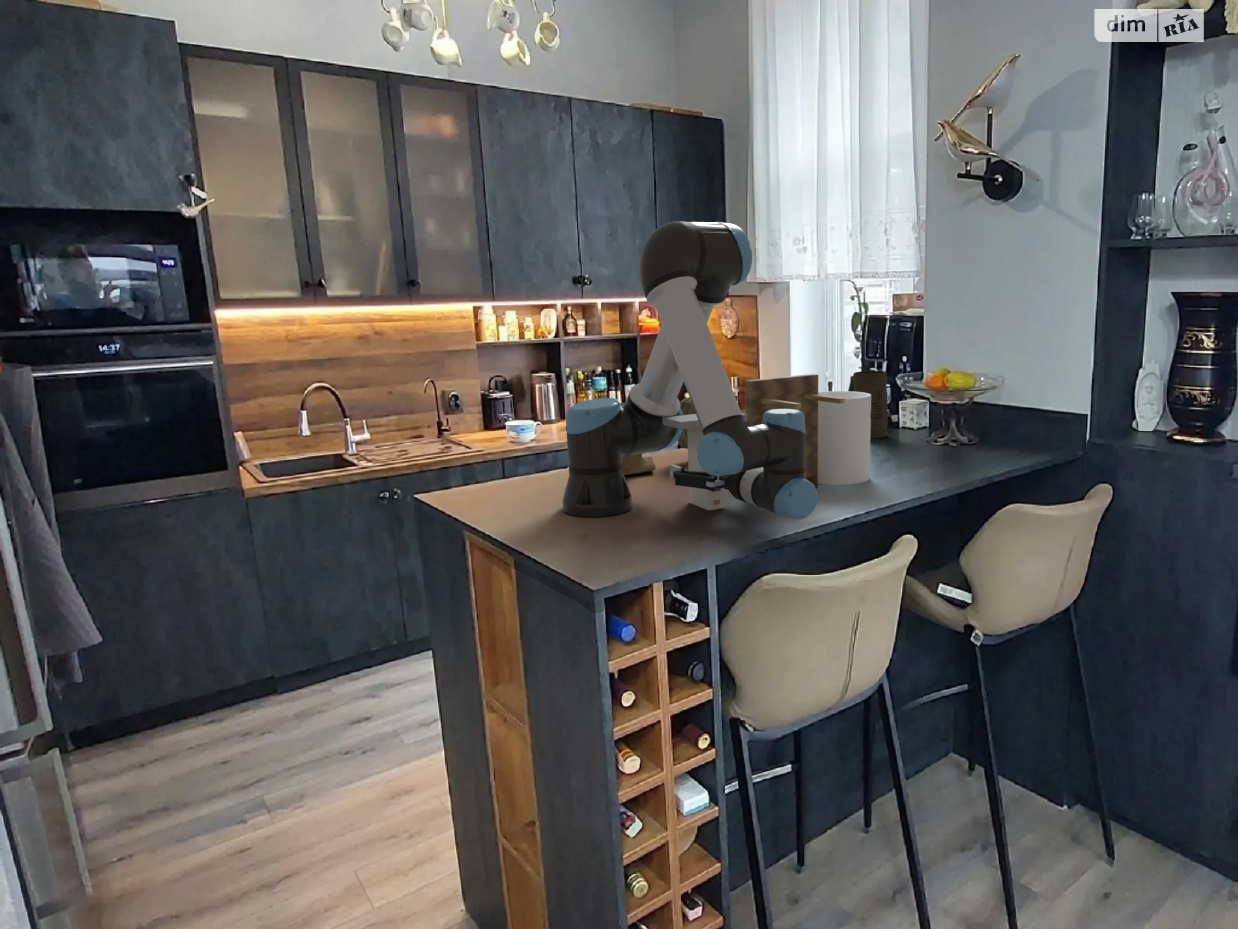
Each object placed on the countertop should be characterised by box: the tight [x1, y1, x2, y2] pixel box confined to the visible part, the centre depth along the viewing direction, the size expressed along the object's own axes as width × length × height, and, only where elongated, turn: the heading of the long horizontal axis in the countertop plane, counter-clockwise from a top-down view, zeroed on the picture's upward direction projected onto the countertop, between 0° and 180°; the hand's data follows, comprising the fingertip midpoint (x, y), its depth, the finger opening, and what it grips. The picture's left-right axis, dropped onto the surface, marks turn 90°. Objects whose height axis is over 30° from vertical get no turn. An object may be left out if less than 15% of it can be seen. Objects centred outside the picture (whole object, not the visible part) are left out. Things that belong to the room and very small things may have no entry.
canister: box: [818, 390, 871, 486], centre depth 192 cm, size 16×16×20 cm
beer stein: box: [847, 370, 889, 440], centre depth 247 cm, size 15×11×20 cm
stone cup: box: [622, 453, 657, 476], centre depth 206 cm, size 15×12×15 cm
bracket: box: [745, 373, 845, 489], centre depth 176 cm, size 18×18×26 cm
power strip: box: [662, 412, 747, 511], centre depth 172 cm, size 16×8×20 cm, turn 116°
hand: (698, 466), depth 175 cm, fingers open, 13 cm apart
